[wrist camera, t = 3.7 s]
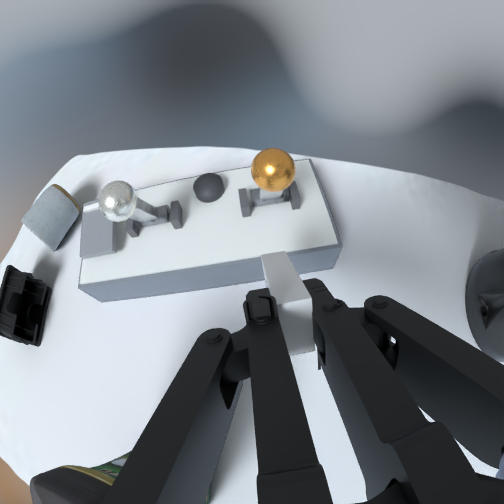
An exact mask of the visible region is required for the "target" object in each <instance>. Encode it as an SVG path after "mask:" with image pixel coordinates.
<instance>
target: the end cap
mask: <svg viewBox="0 0 504 504" xmlns="http://www.w3.org/2000/svg"><path fill="white" fill-rule="evenodd" d="M33 278H34V276H32V274H31V273H26V272H21V271H19V270H18V269H16V268H15V267H13V266H12V265H8V266H7V267H6V271H5V274H4V277H3V281H2V284H1V288H0V336H3V337H6V338H8V339H11V340H14V341H16V342H19V343H24V344H26V345H28V344H31V345H35V346H38V347H39V346H40V344H41V339H42V333H43V328H44V323H45V318H46V313H47V309H48V304H49V300H50V296H51V292H52V289H51V288H50V287H48V286H46V284H45V283H43V282H42V280H38V279H33Z"/></svg>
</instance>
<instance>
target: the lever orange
mask: <svg viewBox="0 0 504 504" xmlns="http://www.w3.org/2000/svg"><path fill="white" fill-rule="evenodd" d="M295 174H296V167H295V163H294V160H293V159H292V157H291V156H290V155H289V154H288V153H287V152H285V151H283V150H281V149H278V148H269V149H265V150H263V151H261V152H260V153H258V154H257V155H256V156H255V158H254V160H253V162H252V165H251V175H252V178H253V180H254V182H255V183H256V184H257V185H258V188H255V189H249V190H250V197H251V203H252V207H258V206H265V205H271V204H278V203H285V202H289V193H288V188H287V187H289V186H290V185H291V183H292V182H293V180H294V178H295Z"/></svg>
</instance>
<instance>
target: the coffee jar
mask: <svg viewBox="0 0 504 504" xmlns="http://www.w3.org/2000/svg"><path fill="white" fill-rule="evenodd" d="M130 453H131V451H130V452H128V453H127V454H125V455H123V456H121V457H119V458H117V459H114V460H112V461H110V462H107V463H105V464H102V465H100V466H96V467H92V468H86V467H81V466H73V465H66V466H60V467H58V468H55V469H52V470H50V471H47V472H44V473H40V474H38V475H37V476H35V477H33V478H32V479H31V482H30V492H31V497H32V501H33V504H100V503H101V502H102V501H103V499H104V498H105V496H106V494H107V493H108V491H109V489H110V487H111V486H112V484H113V482H114V480H115V479H116V477H117V475H118V474H119V472H120V470H121V468H122V467H123V465H124V463H125V462H126V460H127V458H128V456H129V455H130ZM209 498H210V487H209V490H208V493H207V495H206V498H205V501H204V504H209Z"/></svg>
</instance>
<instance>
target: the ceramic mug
mask: <svg viewBox="0 0 504 504" xmlns="http://www.w3.org/2000/svg"><path fill="white" fill-rule="evenodd" d="M79 212H80V208H79V205H78V204H77V202H76V201H75V200H74V198H73V197H72V196H71V195H70V194H69V193H68V192H67V191H66V190H64V189H63V188H62V187H61V186H59V185H57V184H52V185H51V186H50V187H48V188H47V189H46V190H45V191H44V192H43V193H42V194H41V196H40V197H39V198H38V200H37V201H36V202H35V203H34V204H33V205H32V207H31V208H30V209H29V210H28V212H27V213H26V214H25V216H24V217H23V218H22V222H23V223H24V224H25V225H26V226H27V227H28V228H29V229H30V230H31V231H32V232H33V233H34V234H35V235H36V236H37V237H38V238H39V239H40V240H42V241H43V242H44V243H45V244H46V245H47V246H48V247H49V248H50V249H52V250H53V251H55V250H56V249H57V247H58V245H59V244H60V242H61V241H62V239H63V238H64V236H65V235H66V233H67V232H68V230H69V229H70V227H71V226H72V224H73V223H74V222H75V220H76V219H77V217H78V215H79Z"/></svg>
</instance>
